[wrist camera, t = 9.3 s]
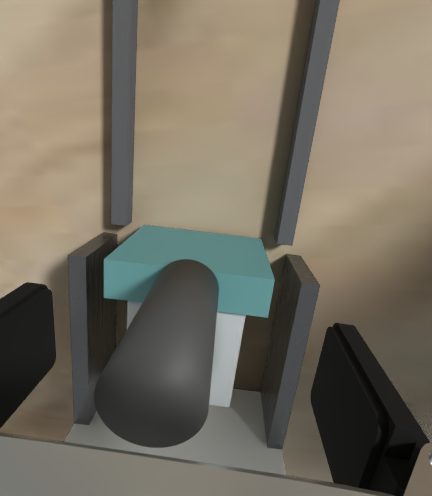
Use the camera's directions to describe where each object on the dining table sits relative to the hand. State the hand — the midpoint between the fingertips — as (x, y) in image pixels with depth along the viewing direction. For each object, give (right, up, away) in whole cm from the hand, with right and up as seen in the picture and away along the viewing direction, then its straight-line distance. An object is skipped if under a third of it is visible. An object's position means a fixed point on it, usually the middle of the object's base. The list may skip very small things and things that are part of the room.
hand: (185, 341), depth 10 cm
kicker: (0, +3, +11) cm, 11 cm away
